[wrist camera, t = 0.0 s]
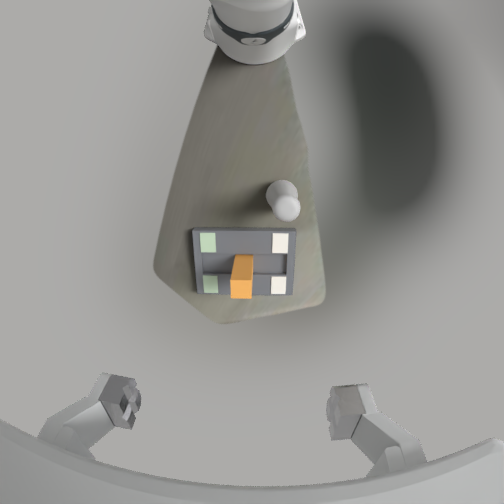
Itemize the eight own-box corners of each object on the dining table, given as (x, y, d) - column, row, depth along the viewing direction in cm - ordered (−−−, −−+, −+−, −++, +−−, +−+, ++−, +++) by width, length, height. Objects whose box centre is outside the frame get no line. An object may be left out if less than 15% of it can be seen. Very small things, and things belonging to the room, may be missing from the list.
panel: (194, 227, 59) (192, 230, 57) (295, 228, 58) (296, 231, 56) (199, 288, 64) (197, 294, 62) (291, 290, 64) (292, 295, 62)
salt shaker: (273, 212, 57) (277, 234, 45) (260, 186, 55) (260, 201, 43) (301, 199, 56) (312, 218, 44) (288, 173, 54) (296, 184, 42)
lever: (235, 254, 60) (230, 280, 49) (253, 254, 59) (251, 280, 49) (235, 270, 61) (231, 298, 51) (253, 270, 61) (251, 298, 51)
